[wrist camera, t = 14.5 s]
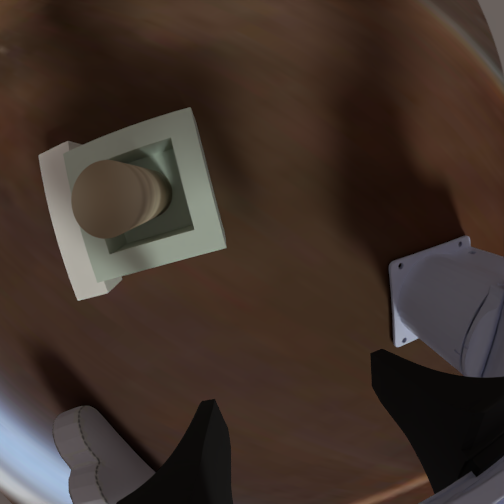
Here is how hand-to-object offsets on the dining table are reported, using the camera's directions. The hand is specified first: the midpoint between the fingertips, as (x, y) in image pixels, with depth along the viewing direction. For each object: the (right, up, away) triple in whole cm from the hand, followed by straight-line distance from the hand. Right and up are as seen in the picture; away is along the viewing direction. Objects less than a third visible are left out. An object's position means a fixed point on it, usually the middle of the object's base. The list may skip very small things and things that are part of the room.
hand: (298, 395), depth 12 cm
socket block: (-9, +10, +7) cm, 15 cm away
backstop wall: (-14, +9, +7) cm, 18 cm away
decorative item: (-13, -19, +13) cm, 27 cm away
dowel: (-9, +10, +7) cm, 15 cm away
